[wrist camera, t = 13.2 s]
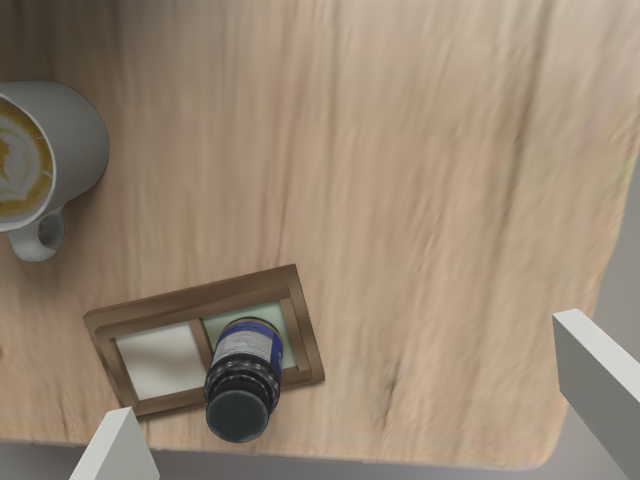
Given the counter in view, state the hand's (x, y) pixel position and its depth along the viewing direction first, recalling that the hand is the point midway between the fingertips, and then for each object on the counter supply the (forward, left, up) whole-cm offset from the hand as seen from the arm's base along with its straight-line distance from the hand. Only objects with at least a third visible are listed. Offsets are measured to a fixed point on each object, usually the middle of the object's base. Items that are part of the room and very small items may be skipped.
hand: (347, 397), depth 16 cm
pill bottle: (+13, -10, -31) cm, 35 cm away
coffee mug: (-7, -22, -32) cm, 39 cm away
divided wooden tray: (+13, -14, -32) cm, 37 cm away
